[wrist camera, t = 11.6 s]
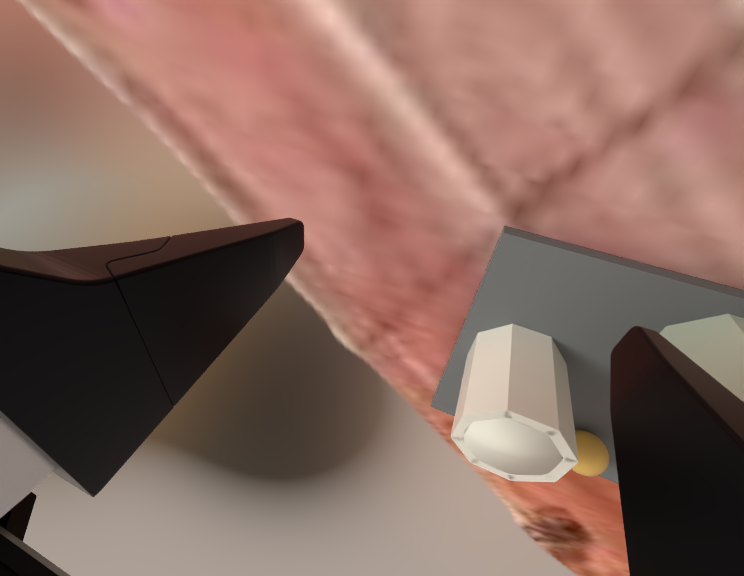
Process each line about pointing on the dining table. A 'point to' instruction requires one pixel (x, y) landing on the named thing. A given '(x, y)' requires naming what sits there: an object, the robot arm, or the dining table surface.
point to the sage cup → (713, 347)
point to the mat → (579, 315)
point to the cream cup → (516, 406)
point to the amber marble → (590, 454)
